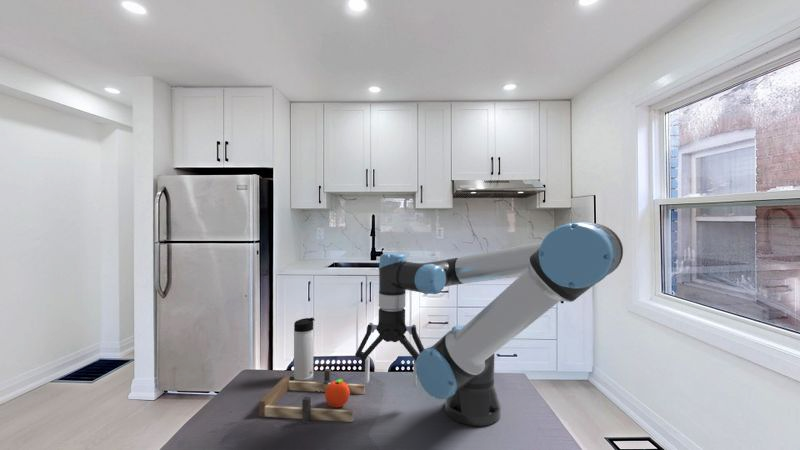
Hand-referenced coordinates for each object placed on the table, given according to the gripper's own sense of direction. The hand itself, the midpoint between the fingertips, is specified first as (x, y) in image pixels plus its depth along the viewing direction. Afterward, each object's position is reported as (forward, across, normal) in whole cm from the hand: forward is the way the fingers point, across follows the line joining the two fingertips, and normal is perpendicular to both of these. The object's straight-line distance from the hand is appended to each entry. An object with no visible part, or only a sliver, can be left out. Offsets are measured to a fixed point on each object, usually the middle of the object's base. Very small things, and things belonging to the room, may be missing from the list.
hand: (390, 382), depth 98 cm
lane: (+7, +22, 0) cm, 23 cm away
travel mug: (+8, +31, -15) cm, 35 cm away
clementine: (+7, +15, 0) cm, 17 cm away
